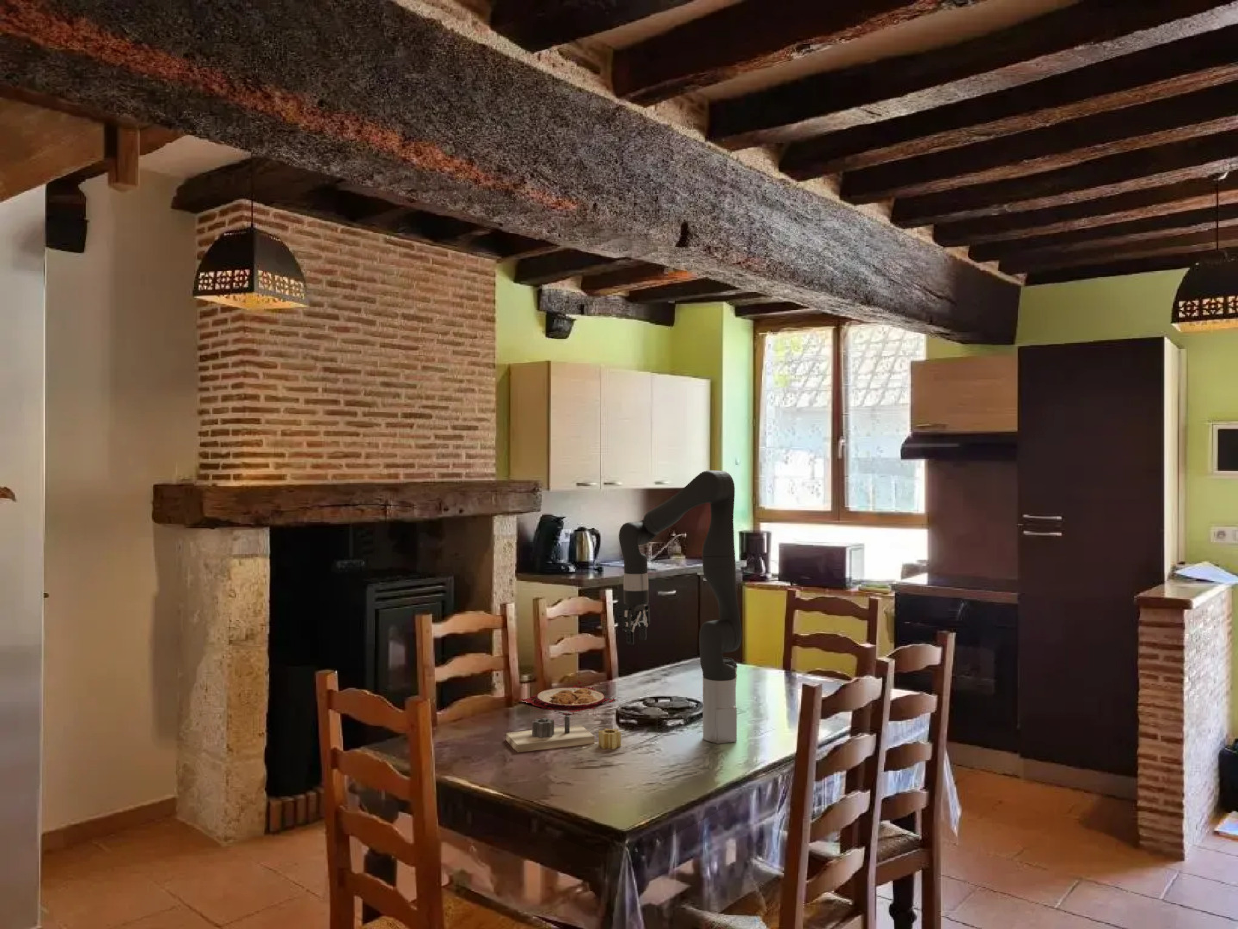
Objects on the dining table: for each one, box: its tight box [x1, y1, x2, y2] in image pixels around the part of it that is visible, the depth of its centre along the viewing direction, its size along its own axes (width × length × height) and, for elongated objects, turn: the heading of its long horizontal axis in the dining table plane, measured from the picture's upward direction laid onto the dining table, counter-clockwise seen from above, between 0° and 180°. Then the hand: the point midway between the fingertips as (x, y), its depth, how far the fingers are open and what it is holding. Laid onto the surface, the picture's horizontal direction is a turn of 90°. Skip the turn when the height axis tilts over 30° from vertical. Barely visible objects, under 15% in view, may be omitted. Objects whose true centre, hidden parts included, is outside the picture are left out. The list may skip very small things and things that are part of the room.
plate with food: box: [519, 680, 617, 715], centre depth 305 cm, size 24×26×4 cm
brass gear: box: [598, 728, 622, 750], centre depth 256 cm, size 6×6×4 cm
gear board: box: [505, 715, 596, 753], centre depth 260 cm, size 12×22×6 cm, turn 111°
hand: (636, 642), depth 282 cm, fingers open, 8 cm apart
